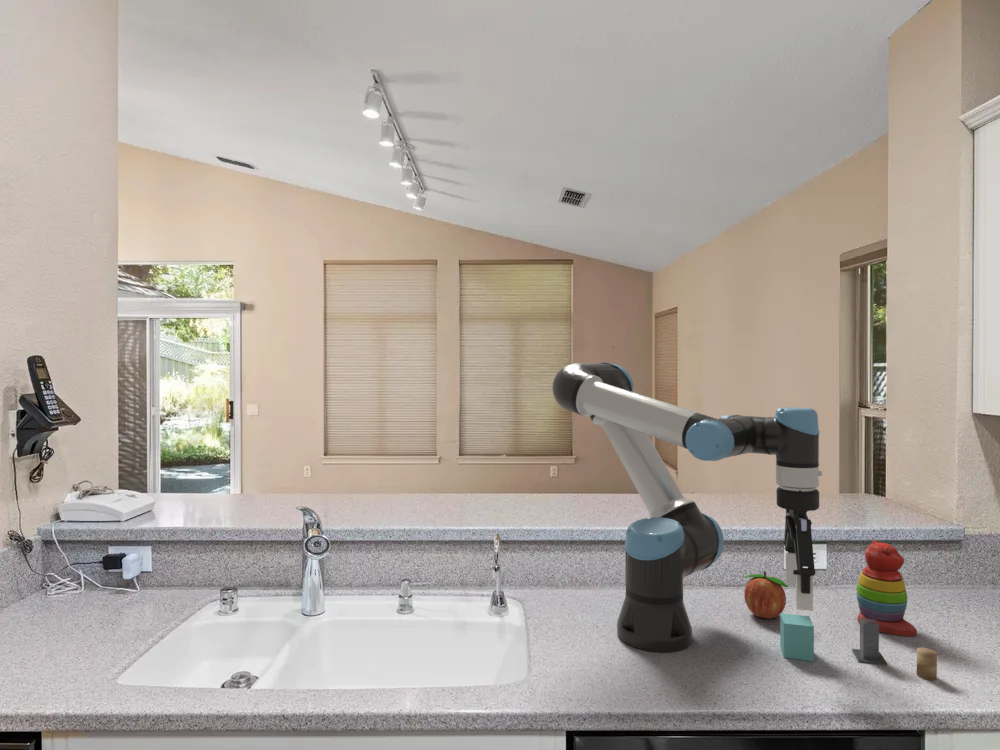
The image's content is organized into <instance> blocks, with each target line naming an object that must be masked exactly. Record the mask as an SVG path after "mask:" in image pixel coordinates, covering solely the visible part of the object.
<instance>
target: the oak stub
mask: <svg viewBox="0 0 1000 750" xmlns="http://www.w3.org/2000/svg"><path fill="white" fill-rule="evenodd" d="M937 661H938V652H937V651H935V650H933V649H931V648H928V647H927V648H926V647H918V648H916V675H917V677H919V678H921V679H923V680H926V681H936V680H937V679H938V662H937Z"/></svg>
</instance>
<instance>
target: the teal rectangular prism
mask: <svg viewBox="0 0 1000 750" xmlns="http://www.w3.org/2000/svg"><path fill="white" fill-rule="evenodd" d="M779 616H780V618H779V619H780V620H779V621H780V622H779V623H780V625H779V629H780V630H779V631H780V632H779V634H780V635H779V637H780V639H779V647H780V649H781V652H782V656H783V658H785V659H794V660H802V661H810V662H814V661H815V660H814V659H815V658H814V657H815V656H814V655H815V652H814V651H815V642H814V641H815V636H814V635H815V626H814V623H813V622H812V620H811V617H810V616H809V615H800V614H793V613H792V614H791V613H783V612H782V613H780V615H779Z"/></svg>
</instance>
